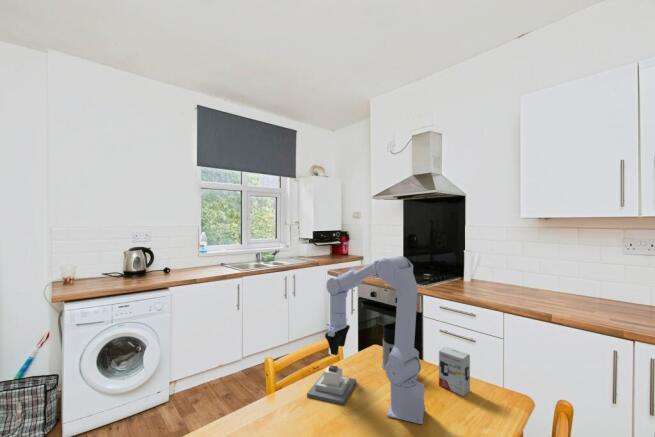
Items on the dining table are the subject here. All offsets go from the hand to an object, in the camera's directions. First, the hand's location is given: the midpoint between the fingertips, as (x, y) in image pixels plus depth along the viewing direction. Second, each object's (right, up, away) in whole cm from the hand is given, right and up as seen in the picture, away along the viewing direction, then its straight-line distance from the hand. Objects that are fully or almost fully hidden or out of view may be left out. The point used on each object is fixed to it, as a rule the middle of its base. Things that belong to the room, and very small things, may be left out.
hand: (337, 350), depth 106 cm
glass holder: (+21, -10, +5) cm, 24 cm away
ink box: (+38, -10, -7) cm, 40 cm away
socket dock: (-2, -9, -8) cm, 12 cm away
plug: (-2, -8, -8) cm, 12 cm away
